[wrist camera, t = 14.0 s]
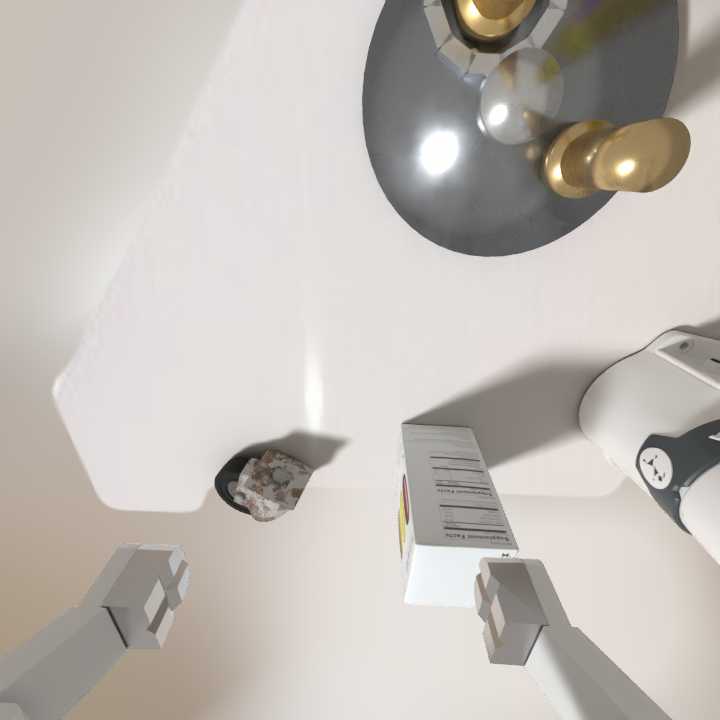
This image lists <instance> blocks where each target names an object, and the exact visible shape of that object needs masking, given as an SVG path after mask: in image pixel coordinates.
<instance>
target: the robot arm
mask: <svg viewBox="0 0 720 720" xmlns="http://www.w3.org/2000/svg"><path fill="white" fill-rule="evenodd" d="M682 343H683V344H682ZM681 344H682V345H681ZM680 345H681V346H680ZM579 423H580V427H581V429H582V431H583V433H584V435H585V436H586V437H587V438H588V439H589V440H590V441H591V442H593V443H594V444H595V445H597V446H598V447H599V448H600V449H602V451H603V454H604V456H605V458H606V460H607V461H608V462H609V463H610V464H611V465H612V466H613V467H615V468H621V469H622V470H623V471H624V472H625V473H626V474H627V475H628V476H629V477H631V479H633V480H634V481H635V482H636V483H637V484H638V485H639V486H640V487H641V488H642V489H643V490H644V491H645V492H646V493H648V494H649V495H650V496H651V497H652V498H653V499H654V500H655V501H656V502H657V503H658V504H659V505H660V507H661V508H662V509H663V510H664V511H665V512H664V513H665V514H666V515H667V516H668V517H669V518H670V519H671V520H672V521H673V522H675V523H676V524H677V525H678V526H679V527H680V528H681V529H682V530H684V531H685V532H687V533H688V534H690V535H693V536H694V537H695V538H696V539H697V540H698V541H699V543H700V544H701V545H702V546H703V547H704V548H705V549H706V550H707V552H708V553H709V554H710V555H711V556H712V557H713V558H714V559H715V560H716V562H717V563H718V564H719V565H720V341H719V340H715V339H711V338H706V337H702V336H698V335H693V334H689V333H685V332H681V331H675V330H673V331H668V332H666V333H664V334H663V335H661V336H660V337H658V338H657V339H656V340H655V341H653V342H652V343H651V344H650V345H649V346H648V347H647V348H645V349H644V350H642V351H640V352H639V353H637V354H634V355H632V356H630V357H628V358H625V359H623V360H622V361H620V362H618V363H616V364H615V365H613V366H612V367H610V368H609V369H607V370H606V371H605V372H604V373H602V374H601V375H600V376H599V377H598V378H597V379H596V380H595V381H594V382H593V384H592V385H591V386H590V387H589V389H588V390H587V392H586V394H585V396H584V398H583V400H582V402H581V406H580V410H579ZM184 555H185V552H184V550H183V547H182V546H178V545H159V544H158V545H157V544H144V543H124V544H122V545H121V546H120V547H119V548H118V549H117V550H116V551H115V553H114V554H113V556H112V557H111V559H110V560H109V562H108V563H107V565H106V566H105V568H104V570H103V571H102V573H101V574H100V575H99V577H98V578H97V580H96V581H95V583H94V584H93V585H92V587H91V588H90V590H89V591H88V593H87V594H86V596H85V597H84V599H83V600H82V602H81V603H80V605H79V606H72V607H71V608H69V609H68V610H67V611H66V612H64V613H63V614H61V615H60V616H59V617H57V618H56V619H55V620H53V621H52V622H51V623H49V624H48V625H46V626H45V627H44V628H42V629H41V630H40V631H39V632H37V633H36V634H34V635H33V636H32V637H30V638H29V639H28V640H26V641H25V642H23V643H22V644H21V645H19V646H18V647H17V648H15V649H14V650H13V651H11V652H10V653H9V654H7V655H6V656H5V657H3V658H2V659H1V660H0V720H61V719H62V718H63V717H64V716H65V715H66V714H67V713H68V712H69V711H70V710H71V709H72V708H73V707H74V706H75V705H76V704H77V703H78V702H79V701H80V700H81V699H82V698H83V697H84V696H85V695H86V693H87V692H88V691H89V690H90V689H91V688H92V687H93V686H94V685H95V684H96V683H97V682H98V681H99V680H100V679H101V678H102V677H103V676H104V675H105V674H106V673H107V672H108V671H109V670H110V669H111V668H112V667H113V666H114V664H115V663H116V662H117V661H118V660H119V659H120V658H121V657H122V656H123V655H124V654H125V653H126V652H127V649H162V646H163V644H164V642H165V640H166V637H167V635H168V633H169V630H170V628H171V626H172V624H173V621H174V618H173V613H172V610H174V609H175V608H176V607H177V606H178V605H179V604H180V603H181V602H182V601H183V598H184V596H185V593H186V591H187V588H188V583H189V579H190V569H189V566H188V563H186V562H185V561H184V560H182V559H183V557H184ZM479 568H480V573H479V574H478V575H476V578H475V582H474V597H475V604H476V608H477V612H478V615H479V616H480V617H481V618H482V619H483V621H484V622H485V623H486V624H485V627H484V631H483V636H484V641H485V644H486V649H487V652H488V657H489V660H490V663H493V664H507V665H520V666H525V667H524V668H525V670H526V671H527V673H528V674H529V675H530V677H531V678H532V679H533V681H534V682H535V684H536V685H537V686H538V688H539V689H540V690H541V692H542V693H543V694H544V696H545V697H546V699H547V700H548V701H549V703H550V704H551V705H552V707H553V708H554V709H555V711H556V712H557V714H558V715H559V716H560V718H561V719H562V720H672V719H671V718H670V717H669V716H668V715H667V714H666V713H665V712H664V711H663V710H662V709H661V708H660V707H659V706H658V705H657V704H656V703H655V702H654V701H652V699H650V697H648V696H647V695H646V694H645V693H644V692H643V691H642V690H641V689H640V688H639V687H638V686H637V685H636V684H635V683H634V682H633V681H632V680H631V679H630V678H629V677H628V676H627V675H626V674H625V673H624V672H623V671H622V670H621V669H620V668H619V667H618V666H617V665H616V664H615V663H614V662H612V660H611V659H610V658H608V656H607V655H605V654H604V653H603V652H602V651H601V650H600V649H599V648H598V647H597V646H596V645H595V644H594V643H593V642H592V641H591V640H590V639H589V638H588V637H587V636H586V635H585V634H584V633H583V632H582V631H581V630H580V629H579V628H577V627H571V624H570V622H569V620H568V618H567V616H566V613H565V611H564V609H563V607H562V604H561V602H560V600H559V598H558V596H557V593H556V591H555V589H554V587H553V584H552V582H551V580H550V578H549V576H548V573H547V571H546V569H545V567H544V564H543V563H542V562H541V561H540V560H538V559H519V558H491V557H483V558H482V559H481V560H480V563H479Z"/></svg>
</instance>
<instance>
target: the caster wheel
mask: <svg viewBox="0 0 720 720" xmlns="http://www.w3.org/2000/svg"><path fill="white" fill-rule="evenodd" d="M313 471H314V470H313V468H312V467H310V466H308V465H305V464H303V463H301V462H299V461H297V460H295V459H293V458H291V457H289V456H287V455H285V454H283V453H281V452H279V451H277V450H275V449H272V448H268V450H267V451H266V452H265V454H264V455H263V457H262V458H261V460H259V459H255V458H251V459H250V460H249V459H244V458H235V459H232V460H229V461H228V462H227V463H226V464H225V465H224V467H223V468H222V469H221V470H220V472H219V473H218V474H217V476H216V477H215V488H216V490H217V492H218V494H219V496H220V497H221V498H222V499H223V500H224V501H225V502H226V503H227V504H228V505H230V506H231V507H233V508H234V509H236V510H238V511H240V512H243V513H246V514H249V515H252V517H253V518H254V519H255V520H257V521H260V522H268V521H271V520H274V519H276V518H278V517H280V516H282V515H283V514H285V513H286V512H287V511H288V510H294V508H295V506H296V504H297V502H298V500H299V498H300V496H301V494H302V492H303V490H304V489H305V487H306V485H307V483H308V481H309V479H310V477H311V475H312V473H313Z"/></svg>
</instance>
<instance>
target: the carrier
mask: <svg viewBox="0 0 720 720" xmlns="http://www.w3.org/2000/svg"><path fill="white" fill-rule="evenodd" d="M678 36H679V26H678V7H677V0H536V1H535V4H534V5H533V7H532V9H531V10H530V12H529V13H528V15H527V16H526V17H525V18H524V20H523V21H522V22H521V23H520V24H519V25H518V26H517V27H516V28H515V29H514V30H513V31H512V32H511V33H509V34H508V35H507V36H506V37H504V38H503V39H501V40H499V41H496V42H494V43H488V44H482V43H477V42H474V41H472V40H470V39H469V38H468V37H466V36H465V35H464V34H463V32H462V31H461V30H460V28H459V26H458V24H457V22H456V20H455V16H454V12H453V1H452V0H386V1H385V4H384V6H383V9H382V11H381V13H380V16H379V18H378V21H377V23H376V26H375V30H374V33H373V36H372V40H371V43H370V47H369V51H368V56H367V61H366V67H365V72H364V83H363V95H362V106H363V126H364V133H365V140H366V146H367V150H368V154H369V157H370V161H371V165H372V167H373V170H374V173H375V175H376V178H377V180H378V183H379V184H380V186H381V188H382V190H383V192H384V194H385V195H386V197H387V199H388V200H389V202H390V203H391V204H392V206H393V207H394V209H395V210H396V211H397V213H398V214H399V215H400V216H401V217H402V218H403V219H404V220H405V221H406V222H407V223H408V224H409V225H410V226H411V227H412V228H413V229H414V230H416V231H417V232H418V233H419V234H421V235H422V236H423V237H425V238H427V239H428V240H430V241H432V242H434V243H435V244H437V245H439V246H442V247H444V248H447V249H449V250H452V251H455V252H459V253H463V254H467V255H474V256H484V257H491V256H506V255H512V254H519V253H522V252H526V251H529V250H533V249H536V248H539V247H541V246H543V245H546V244H548V243H551V242H553V241H555V240H557V239H559V238H560V237H562V236H564V235H566V234H568V233H569V232H571V231H573V230H574V229H575V228H577V227H578V226H580V225H581V224H582V223H584V222H585V221H587V220H588V219H589V218H590V217H592V216H593V215H594V214H595V213H596V212H597V211H598V210H600V209H601V208H602V207H603V206H604V205H605V204H606V203H607V202H608V201H609V200H610V199H611V198H612V197H613V196H614V194H615V193H616V192H617V191H628V192H642V193H643V192H651V191H655V190H657V189H659V188H661V187H663V186H665V185H666V184H668V183H669V182H670V181H671V180H673V179H674V178H675V177H676V176H677V174H678V173H679V172H680V171H681V169H682V168H683V166H684V164H685V162H686V160H687V158H688V155H689V151H690V145H691V140H690V134H689V131H688V129H687V127H686V126H685V125H684V124H683V123H682V122H681V121H679V120H677V119H674V118H662V115H663V113H664V110H665V108H666V104H667V101H668V97H669V94H670V90H671V87H672V83H673V78H674V72H675V67H676V61H677V52H678Z"/></svg>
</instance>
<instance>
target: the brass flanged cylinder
mask: <svg viewBox="0 0 720 720" xmlns="http://www.w3.org/2000/svg"><path fill="white" fill-rule="evenodd" d="M452 1H453V12H454V16H455V20H456V22H457V24H458V26H459V28H460V30H461V31H462V32H463V34H464V35H465V36H466V37H468V38H469V39H470V40H472V41H474V42H477V43H482V44H488V43H494V42H496V41H499V40H501V39H503V38H504V37H506V36H507V35H508V34H509V33H511V32H512V31H513V30H514V29H515V28H516V27H517V26H518V25H519V24H520V23H521V22H522V21H523V20H524V18H525V17H526V16H527V15H528V13H529V12H530V10H531V9H532V7H533V5H534V4H535V1H536V0H452Z"/></svg>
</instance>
